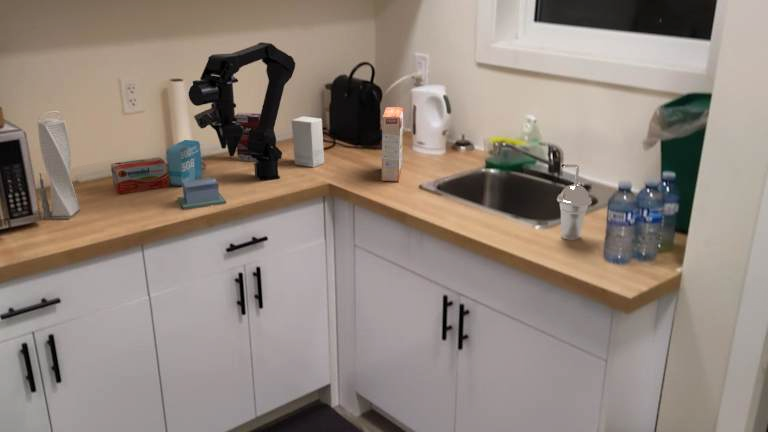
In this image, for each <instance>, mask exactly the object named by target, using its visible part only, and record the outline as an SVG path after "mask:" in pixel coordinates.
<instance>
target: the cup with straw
mask: <svg viewBox="0 0 768 432" xmlns="http://www.w3.org/2000/svg"><path fill="white" fill-rule="evenodd" d="M561 167H562V168H575V176H574V183H573V184H569V185H567V186H565V187H564V188H563V189H562V191H561V193H560V194H558V195H557V198H556V201H557V202H558V203H559V209H560V233H561V234H560V235H561V236H562V237H561V238H563V239H566V240H569V241H575V240H579V239H580V235H581V233H582V228H583V224H584V219H585V217H586V213H587V210H588V207H589V206H590V205H591V204H592V198H591V196H589V193H588V191H587V189H586V188H585V187H583V186H582V185H580V184H578V180H579V172H580V171H579V170H580V168H579V165H578V164H569V163H568V164H564V163H563V164H561Z"/></svg>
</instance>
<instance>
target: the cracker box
mask: <svg viewBox="0 0 768 432" xmlns="http://www.w3.org/2000/svg"><path fill="white" fill-rule="evenodd" d="M381 122H382V125H381V126H382V128H381V129H382V132H381V136H382V137H381V181H382V182H399V181H400V176H401V173H402V166H403V141H404V140H403V139H404V137H403V136H404V133H403V132H404V107H398V106H397V107H396V106H395V107H393V106H392V107H391V106H387V107H385V110H384V113H383V115H382V121H381Z"/></svg>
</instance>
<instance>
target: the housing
mask: <svg viewBox="0 0 768 432" xmlns="http://www.w3.org/2000/svg"><path fill="white" fill-rule="evenodd" d="M181 187H182V194H183V196H184V199H186V200H187V204H193V203H200V202H207V201H213V200H219V193H220V191H219V189H220V188H219V182H218V181H217V180H216V179H215V177H207V178H201V179H200V178H198V179H197V180H191V181H183V182H182V186H181ZM183 196H182V197H183Z"/></svg>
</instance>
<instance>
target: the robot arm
mask: <svg viewBox="0 0 768 432" xmlns="http://www.w3.org/2000/svg"><path fill="white" fill-rule="evenodd" d="M207 58H208V59H207V62H206V63H205V64H206V65H205V67H204V69H203V72H202V74H201V76H200V77H199V80H197V79H194V80H192V85H191V86H190V87H189V91H188V99H189V100H190V102H191V104H193V105H194V106H197V107H199V106H204V105H208V104H210V108H208V109H205V110H203V111H201V112H199V113H196V114H195V115H194V116H193V118H194V120H195V122H196V124H197V126H198V127H199V128H200V129H205V128H206V127H208V126H210V127H211V128H212V129H214V131H215V132H216V135H217V138H218V140H219V144H220V147H221V149H223V150H224V149H226V148H227V151H228V155H229V157H234V155H235V154H236V152H237V146H238V144H239V141H240V139H241V137H242V136H243V134H244V127H243V126H242V125H241V124H239V123H238V122H237V118H236V117H235V115H236V113H235V108H237V104H236V103H235V100H234V99H235V96H234V86H233V85H234V84H236V83H238V82H239V79H238V78H236V77H235V76H234V75H236V74H237V73H238V72H239V71H240V69H241V68H243V67H245V66H248V65H251V64H253V63H255V62H258V61H260V60H261V62H262V63H263V64H264V65H265V66H266V69H265V70H266V71H265V73H266V75H267V79H268V83H267V86H266V91H265V95H264V98H263V99H264V100H263V104H262V108H261V112H260V114H261V115H260V119H259V124H258V126H257V127H256V128H255V129H254V130H252V129H251V130H250V131H249V136H248V139H247V141H246V142H248V143H247V148H248V150H249V152H250V154H251V157H252V158H256V162H254V164H253V165H254V167H253V168H254V176H255V177H256V178H257V179H258V180H259V181H261V182H262V181H268V180H278V179H281V176H280V175H279V168H278V167H279V166H278V165H279V162H278V161H279V160H281V159H282V156H283V152H282V150H281V149H280V148H279V147H277V137H276V133H275V125H276V122H277V117H278V113H279V109H280V106H281V100H282V97H283V93H284V89H285V85H286V84H287V83H288V82H289V80H291V78H292V77H293V74H294V72H295V69H296V62H295V59H294V58H293V56H291V55H289V54H287V53H286V52H285V51H283V50H281V49H279V48H277V47H276V46H275V44H273V43H270V42H264V41H263V42H258V43H257V44H255V45H252V46H250V47H246V48H243V49H240V50H237V51H235V52H231V53H215V54H211V55H210V56H208V57H207Z"/></svg>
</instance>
